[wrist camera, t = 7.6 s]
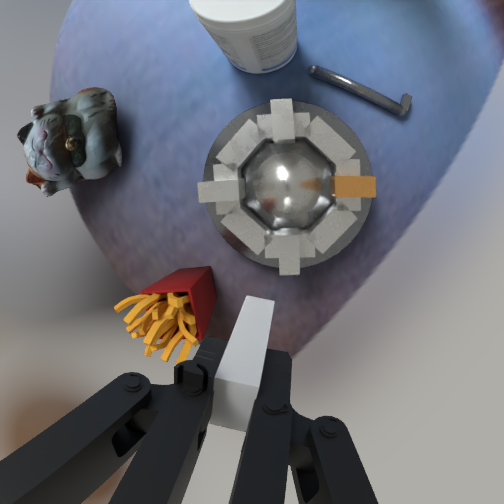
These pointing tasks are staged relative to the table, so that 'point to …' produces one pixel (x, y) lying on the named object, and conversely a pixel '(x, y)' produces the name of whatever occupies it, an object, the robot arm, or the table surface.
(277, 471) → the robot arm
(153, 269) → the table surface
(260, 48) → the supplement tub
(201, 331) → the french fries
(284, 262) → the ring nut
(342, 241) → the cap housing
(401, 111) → the pin spanner
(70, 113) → the lucky cat figurine
